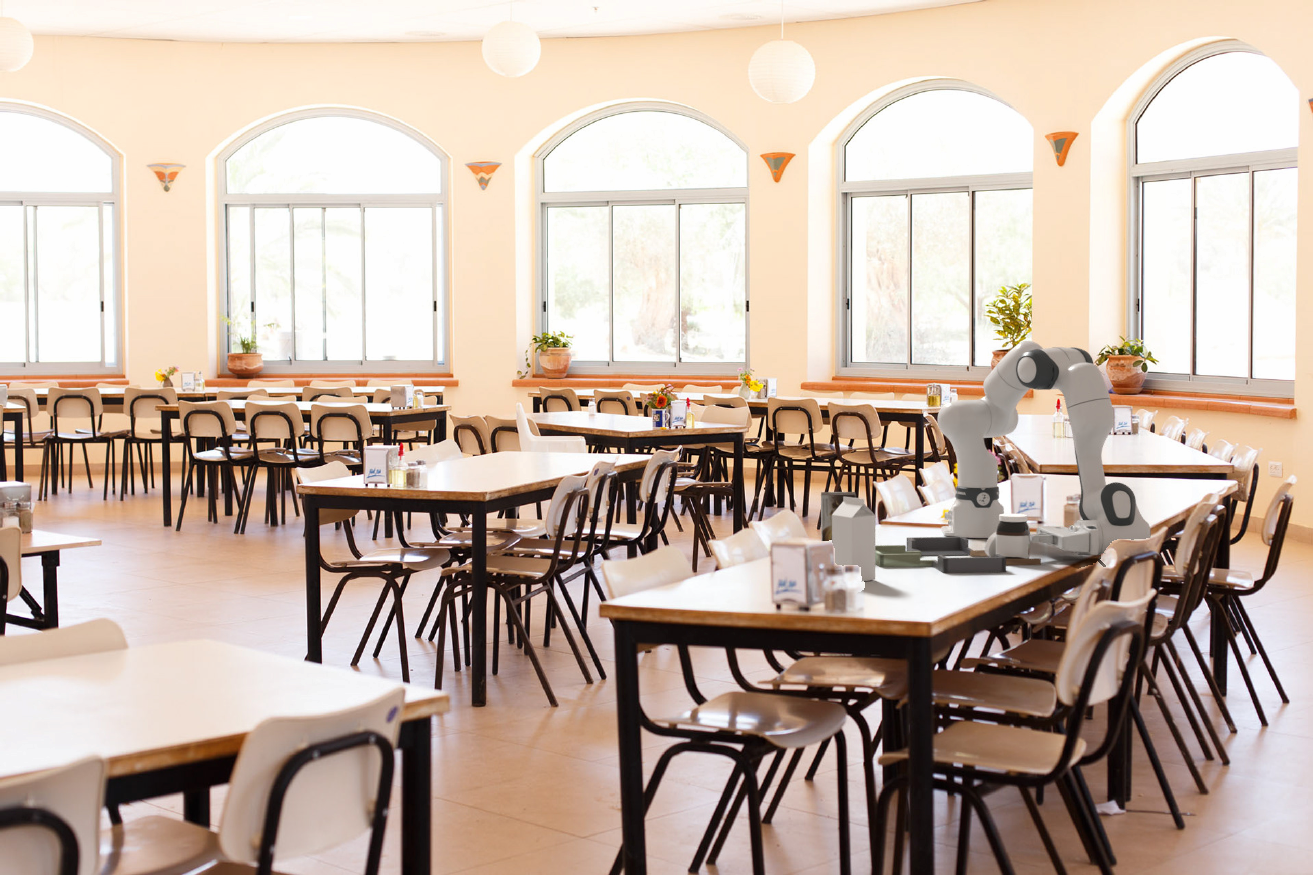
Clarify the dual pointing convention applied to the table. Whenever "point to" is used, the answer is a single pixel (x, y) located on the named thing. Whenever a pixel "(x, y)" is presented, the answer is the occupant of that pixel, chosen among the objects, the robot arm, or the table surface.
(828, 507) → the coffee box
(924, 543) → the grey open tray
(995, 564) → the dark grey shallow tray
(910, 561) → the lane
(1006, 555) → the spread jar
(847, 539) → the milk carton
